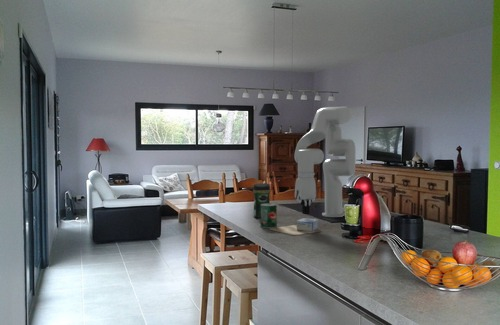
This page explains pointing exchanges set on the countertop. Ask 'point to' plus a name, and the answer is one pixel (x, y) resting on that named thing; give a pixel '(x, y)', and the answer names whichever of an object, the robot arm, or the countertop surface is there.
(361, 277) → the countertop surface
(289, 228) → the wooden board
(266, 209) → the canned tomato
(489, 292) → the countertop surface
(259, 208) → the coffee jar
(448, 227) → the countertop surface
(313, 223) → the medicine box
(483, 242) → the countertop surface
